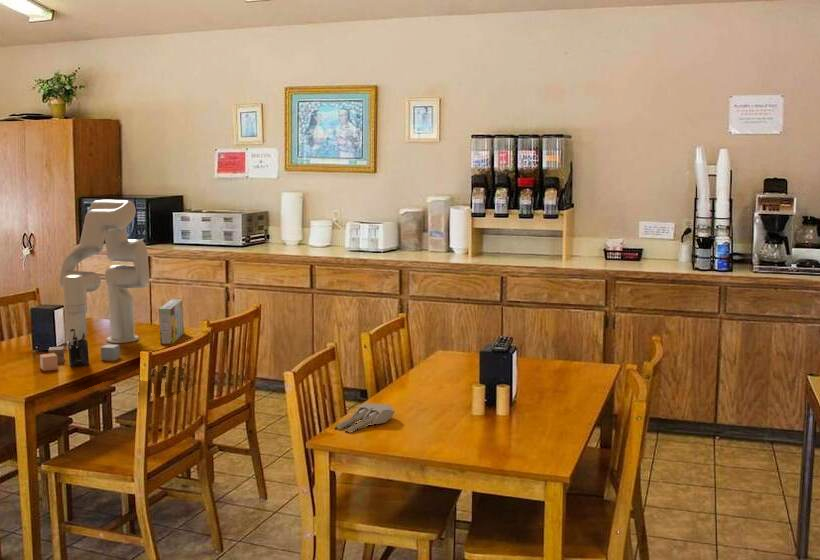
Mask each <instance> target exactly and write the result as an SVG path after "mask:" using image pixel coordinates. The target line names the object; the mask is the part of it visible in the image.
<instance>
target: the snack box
mask: <svg viewBox="0 0 820 560" xmlns="http://www.w3.org/2000/svg"><path fill="white" fill-rule="evenodd" d="M183 308H184V307H183V299H170V300H169V301H167V302H165V304H163V305H162V306H161V307H160V308H158V320H159V322H158V323H159V335H160V337H159V338H160V345H173V344H174V343H175V342H176V341H177V340H179V338H181V337H182V335H184V334H185V326H184V311H183V310H184V309H183Z"/></svg>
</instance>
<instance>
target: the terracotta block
mask: <svg viewBox="0 0 820 560" xmlns="http://www.w3.org/2000/svg"><path fill="white" fill-rule="evenodd" d="M39 363H40V364H39V365H40V367H39V368H40V369H41V370H42V371H43V372H45V371H53V370H59V363H58V361H57V355H56V354H55V353H51V354H49V353H43V354H39Z"/></svg>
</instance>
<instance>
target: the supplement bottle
mask: <svg viewBox="0 0 820 560" xmlns="http://www.w3.org/2000/svg"><path fill="white" fill-rule="evenodd" d="M84 337H85V336H84V333H83V337H82V339H81V340H79V347H78V348H80V358H79V359H71V354H70V343H69V341H68V343H67V347H68V348H67V349H68V360H69V361H68V362H69V365H70V367H84V366H87V365H89V363H90V356H89V342H88V339H87V338H86V339H84ZM74 339H77V338H74ZM75 343H76V342H75Z"/></svg>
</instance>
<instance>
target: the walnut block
mask: <svg viewBox="0 0 820 560" xmlns="http://www.w3.org/2000/svg"><path fill="white" fill-rule="evenodd" d="M47 352H48V354H51V353H55V354H56V355H57V361H58V364H59V363H65V348H64V346H52V347H51V346H49V348H48V351H47Z"/></svg>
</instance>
